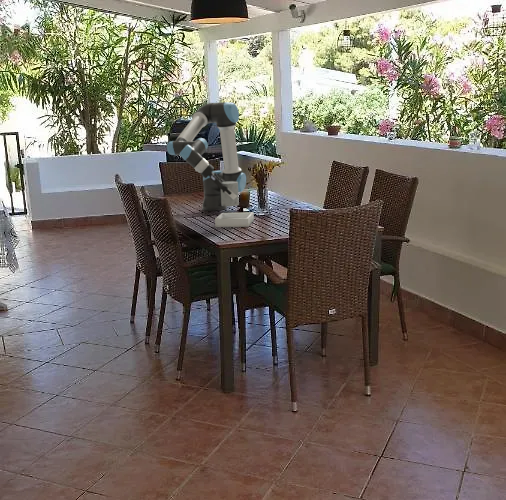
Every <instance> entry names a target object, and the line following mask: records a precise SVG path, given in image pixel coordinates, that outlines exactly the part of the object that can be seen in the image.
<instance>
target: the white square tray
mask: <svg viewBox="0 0 506 500" xmlns="http://www.w3.org/2000/svg"><path fill="white" fill-rule="evenodd" d="M254 215H255V214H254V212H252V211H251V212H248V211H247V212H221V213H220V214H219V215H218V216H217V217H216V218H215V219H214V222H215V223H214V225H215V228H241V227H242V228H243V227H245V228H248V227H250V225H251V224H252V223H253V222H254V221H255V220H254V219H255V216H254Z"/></svg>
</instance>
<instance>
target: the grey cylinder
mask: <svg viewBox="0 0 506 500" xmlns="http://www.w3.org/2000/svg"><path fill="white" fill-rule="evenodd" d="M222 183H223V184H224V185H225V186H226V187H227V188H229V189H230V190H231V191H232V192H233V193H234V194H235V195H237V197H236V198H235V199H234V200H233V199H232V198H231V197H230V196H229V195H228V194H227V193H225V192H224V193H223V191H222V189H221V204H222V206H227V207H236V206H239V205H240V202H239V201H240V200H239V192H238V182H237V181H226V182H222Z"/></svg>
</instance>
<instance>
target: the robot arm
mask: <svg viewBox="0 0 506 500" xmlns="http://www.w3.org/2000/svg"><path fill="white" fill-rule="evenodd" d="M191 117H192V118H191V120H190V122H188V124H187V125H186V126H185V128H184V129H183V130H182V131H181V132H180V134H179V135H178V137H177V138H176V139H175V140H172V141H171V140H170V141H168V143H167V145H166V150H167V154H169V155H171V156H180V157H181V158H182V159H183V161H185V162H187V164H188V165H190V166H191V167H192V168H193V169H195V170H194V171H195V172H198V173H199V174H200V175H201V176H202V184H203V200H202V205H201V209H202V211H208V212H209V211H210V212H211V211H212V212H214V211H222V210H226V209H228V208H227V207H228V206H222V204H221V189H222V191H223V193H224V192H225V193H227V194H228V195H229V196H230V197H231V198H232V199H233V200H234V199H235V198H236V197H237V195H235V194H234V193H233V192H232V191H231V190H230V189H229V188H227V187H226V186H225V185H224V184H223V183H222V182H226V181H237V182H238V193H242V192H243V191H244V190H245V188H246V185H247V175H246V173H245V172H242V168H241V167H239V159H238V150H237V141H236V134H235V133H236V132H235V128H236V126H237V123H238V122H239V119H240V118H239V117H240V113H239V109H238V105H236V104H235V102H230V101H229V102H228V101H221V102H220V101H219V102H208V103H206V104H204V105H202V106H201V107H199V108H198V109H197V110H195V112H194V113H193V114H192V116H191ZM208 124H216V128H218V130H219V135H220V142H221V143H220V144H221V149H222V150H221V151H222V158H223V166H224V167H223V168H224V169H223V170H214V169H215V167H214V166H213V165H212V164H210V163H209V161H208V160H206V158H204V157H203V154H204V153H205V152H206V151H207V150H208V147H209V143H208V142H207V140H206V139H205V138H202V137H199V138H197V139H196V140H194V139H195V138H196V137H197V135H198V134H199V132H201V130H202V128H204V127H205V126H207V125H208Z"/></svg>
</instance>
